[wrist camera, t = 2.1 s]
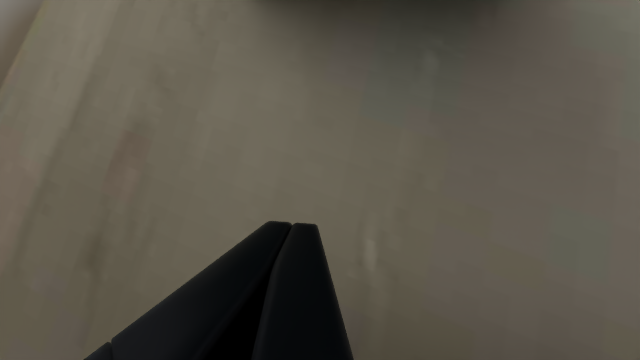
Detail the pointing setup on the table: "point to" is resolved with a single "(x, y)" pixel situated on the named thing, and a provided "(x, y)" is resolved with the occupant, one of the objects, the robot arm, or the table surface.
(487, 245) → the table surface
